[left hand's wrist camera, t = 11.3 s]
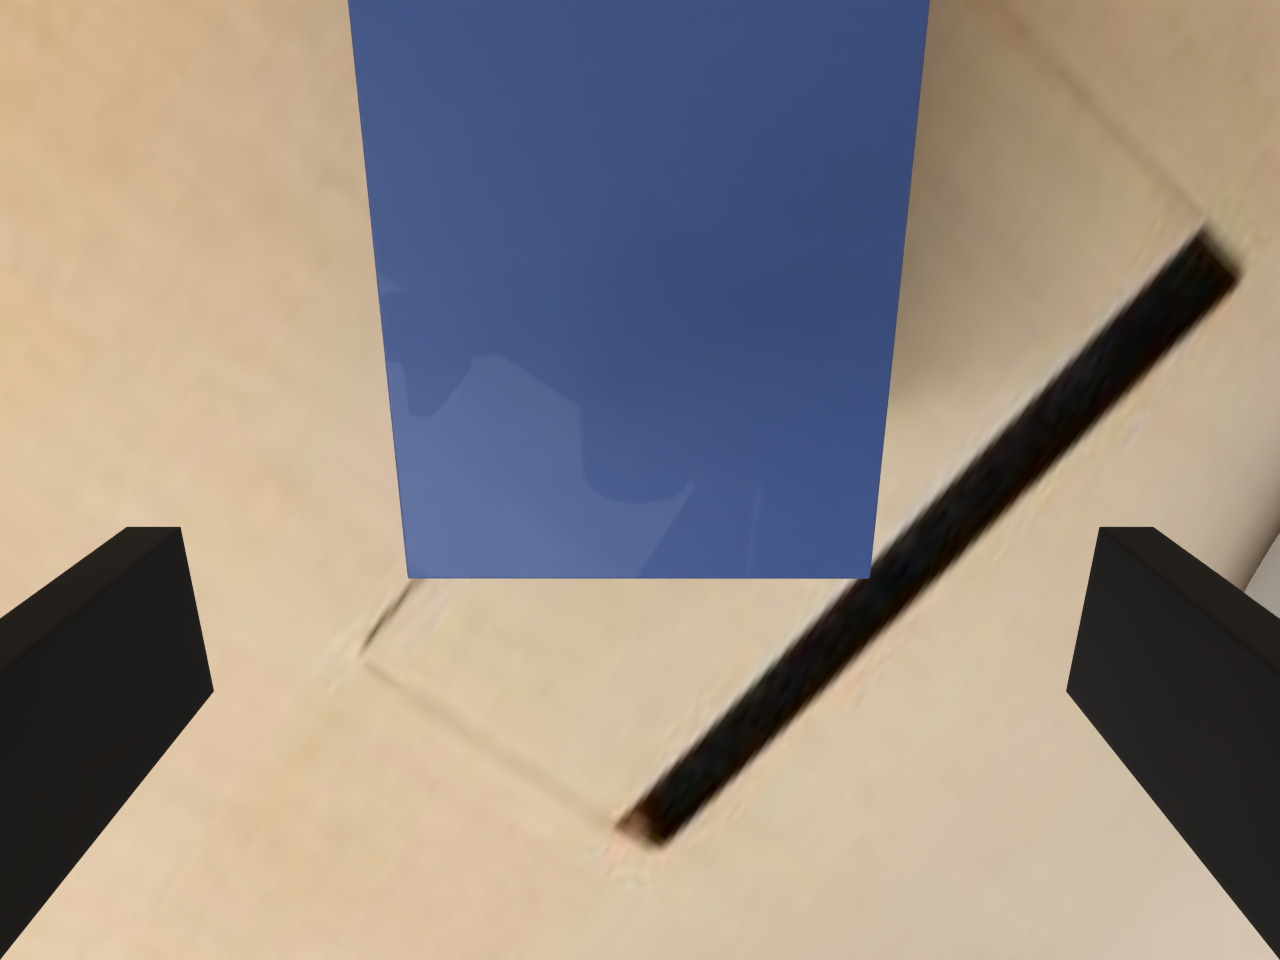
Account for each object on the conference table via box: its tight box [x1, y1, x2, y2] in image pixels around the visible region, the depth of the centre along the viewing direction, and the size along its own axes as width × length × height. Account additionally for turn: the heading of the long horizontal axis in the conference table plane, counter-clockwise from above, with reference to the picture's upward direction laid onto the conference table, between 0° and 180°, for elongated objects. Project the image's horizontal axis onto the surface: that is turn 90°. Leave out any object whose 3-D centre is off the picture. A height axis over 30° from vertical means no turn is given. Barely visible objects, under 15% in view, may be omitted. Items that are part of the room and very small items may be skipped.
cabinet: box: [348, 0, 930, 579], centre depth 23 cm, size 17×11×12 cm, turn 0°
